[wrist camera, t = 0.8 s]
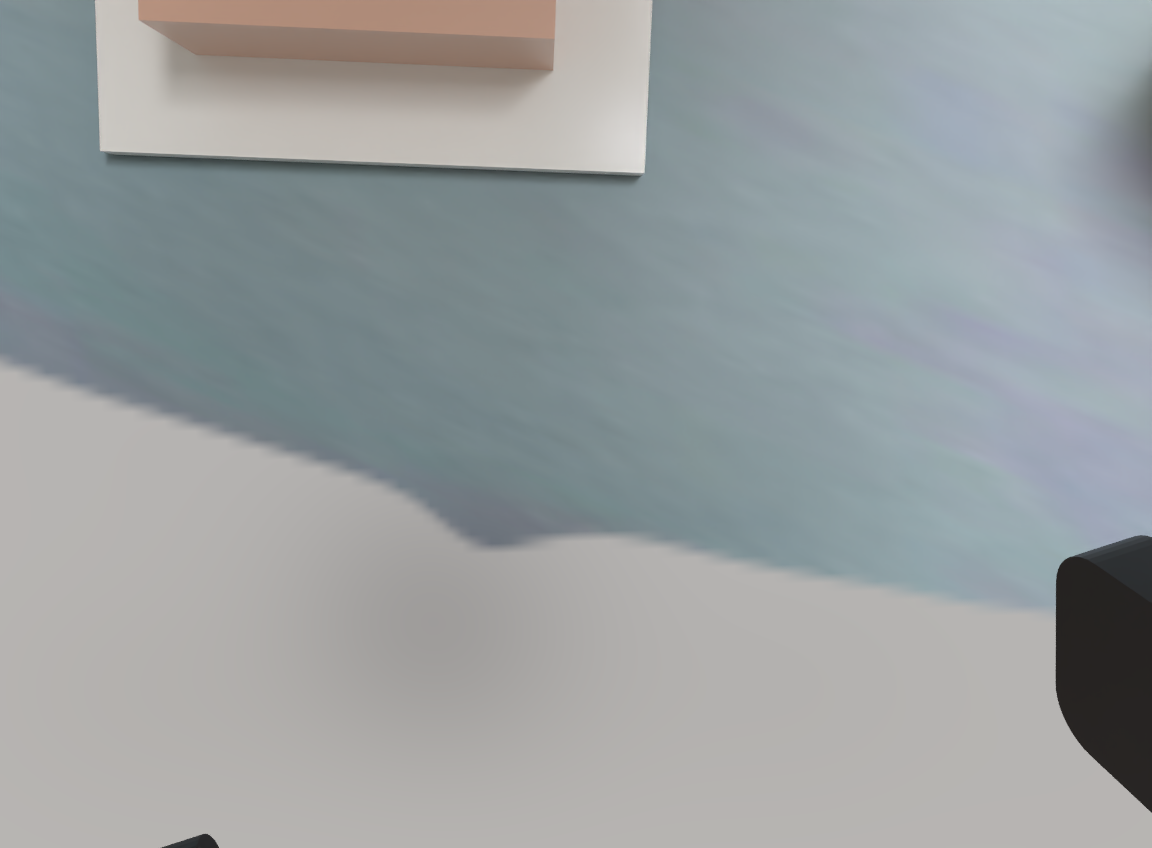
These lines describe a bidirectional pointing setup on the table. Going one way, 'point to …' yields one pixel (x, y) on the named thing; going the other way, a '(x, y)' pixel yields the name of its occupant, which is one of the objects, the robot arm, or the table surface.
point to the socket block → (379, 82)
